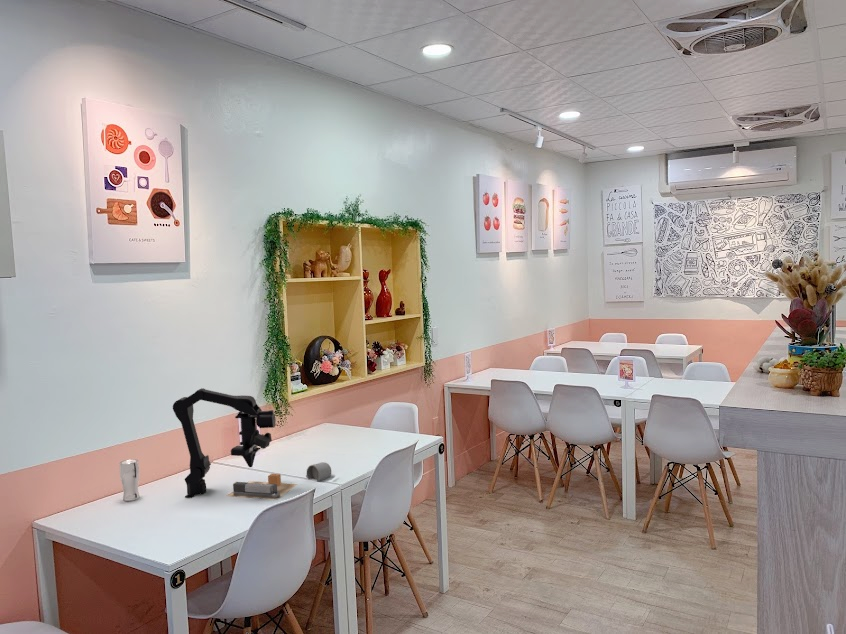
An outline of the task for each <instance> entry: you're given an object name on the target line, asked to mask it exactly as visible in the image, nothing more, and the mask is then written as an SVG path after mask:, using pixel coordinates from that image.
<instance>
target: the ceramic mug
mask: <svg viewBox="0 0 846 634" xmlns="http://www.w3.org/2000/svg"><path fill="white" fill-rule="evenodd" d="M331 475H332V468H331V466H330V464H329V463H327V462H319V463H314V464H311V465H309V466H308V467H307V469H306V475H305V477H306V478H307V479H308V480H309V481H310V480H312V479H314V480H316V482H321V481H323V480H325V479H329V478H330V477H331Z"/></svg>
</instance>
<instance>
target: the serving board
mask: <svg viewBox="0 0 846 634" xmlns="http://www.w3.org/2000/svg"><path fill="white" fill-rule="evenodd" d="M247 482H248V483H259V484H268V481H254V480H249V481H247ZM296 486H298V483H285V482H281V484H280V485H278V486H277V492H280V497H279V498H276V499H272V498H265V497H251V496H236V495H234V493H233V492H234V491H231V492H230V493H228V494H227V495H226V497H231V498H232V497H233V498H247V499H263V500H273V501H274V500H279V499H280V498H282V497H283V496H284V495H285V494H287V493H288V492H289V491H291V490H292V489H294V487H296Z"/></svg>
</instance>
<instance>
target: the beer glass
mask: <svg viewBox="0 0 846 634" xmlns="http://www.w3.org/2000/svg"><path fill="white" fill-rule="evenodd" d="M119 477H120V481H121V485H122V488H123V489H122V490H123V494H122V495H123V497H122V501H124V502H127V503H128V502H134V501H137V500H139V499H140V493H139V481H140V465H139V460H138V459H135V458H134V459H132V458H131V459H127V460H125V459H124V460H122V461H120V462H119Z"/></svg>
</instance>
